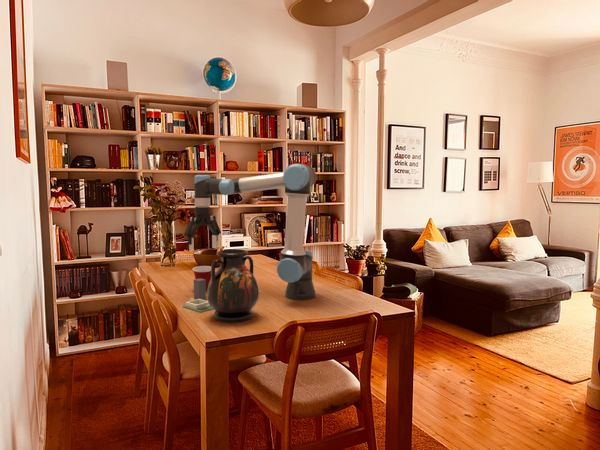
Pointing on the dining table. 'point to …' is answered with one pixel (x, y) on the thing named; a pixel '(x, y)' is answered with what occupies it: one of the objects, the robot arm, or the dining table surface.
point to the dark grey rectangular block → (200, 289)
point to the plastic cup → (203, 273)
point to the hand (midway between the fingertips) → (203, 249)
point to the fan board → (198, 305)
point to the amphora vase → (232, 287)
